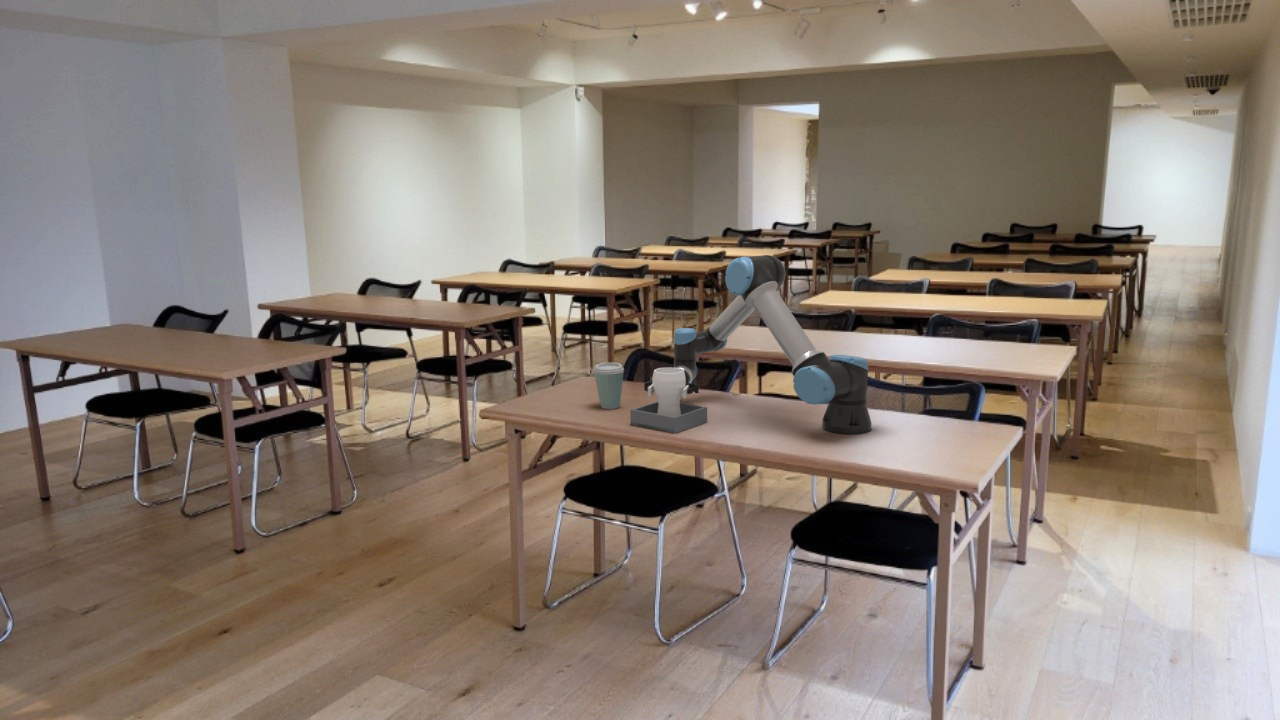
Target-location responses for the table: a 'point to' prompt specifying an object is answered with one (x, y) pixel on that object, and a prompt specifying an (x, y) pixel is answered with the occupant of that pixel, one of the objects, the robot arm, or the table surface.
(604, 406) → the disposable coffee cup
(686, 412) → the bin
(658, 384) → the white ceramic vase
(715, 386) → the table surface
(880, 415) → the table surface
